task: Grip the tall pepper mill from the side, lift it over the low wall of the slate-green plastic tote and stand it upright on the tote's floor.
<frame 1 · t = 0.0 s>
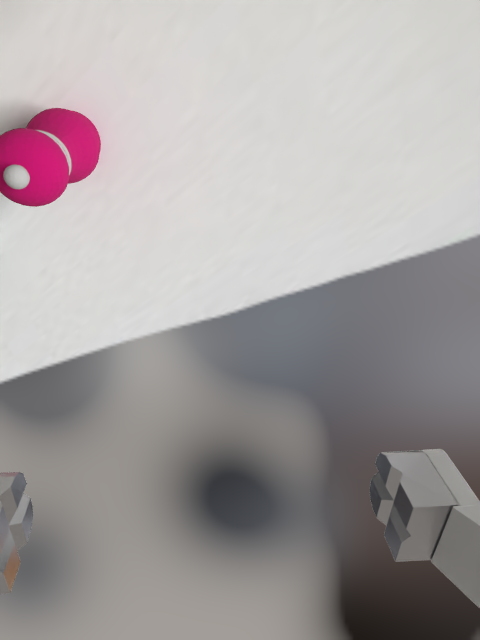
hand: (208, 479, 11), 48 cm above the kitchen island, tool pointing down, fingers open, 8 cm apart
pepper mill: (72, 140, 51), on the kitchen island
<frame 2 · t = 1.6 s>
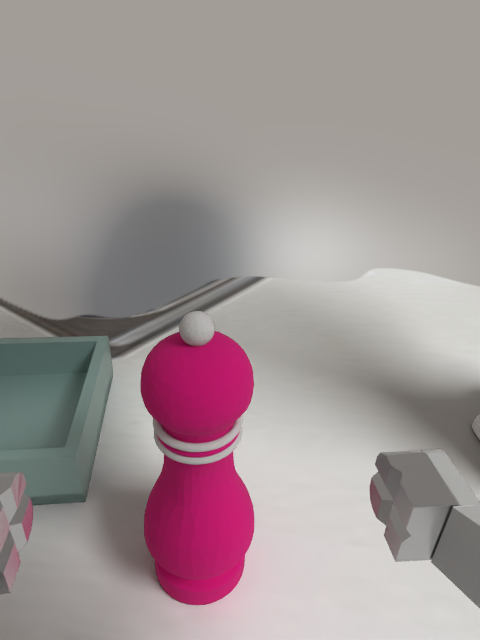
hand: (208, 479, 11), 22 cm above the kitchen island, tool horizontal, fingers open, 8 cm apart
pepper mill: (200, 562, 32), on the kitchen island
tote: (8, 431, 42), on the kitchen island
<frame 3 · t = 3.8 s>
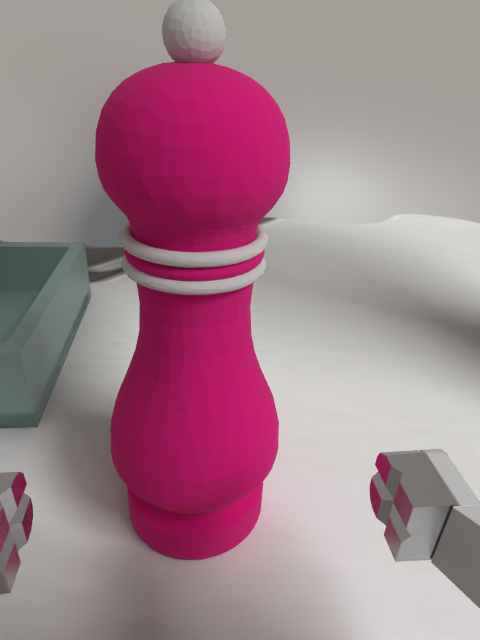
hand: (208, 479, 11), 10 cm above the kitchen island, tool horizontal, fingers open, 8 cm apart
pepper mill: (196, 503, 22), on the kitchen island
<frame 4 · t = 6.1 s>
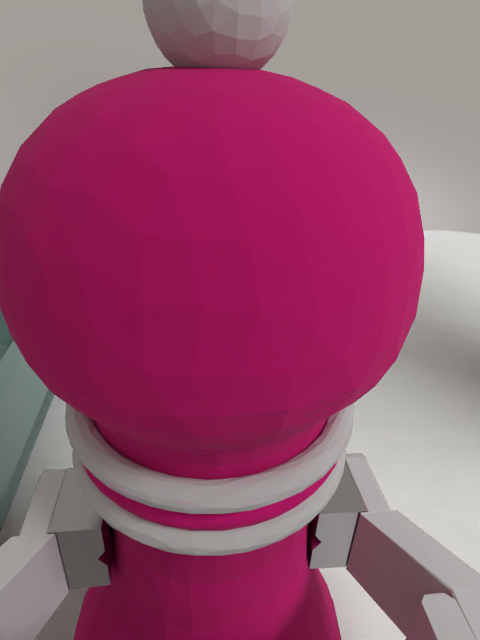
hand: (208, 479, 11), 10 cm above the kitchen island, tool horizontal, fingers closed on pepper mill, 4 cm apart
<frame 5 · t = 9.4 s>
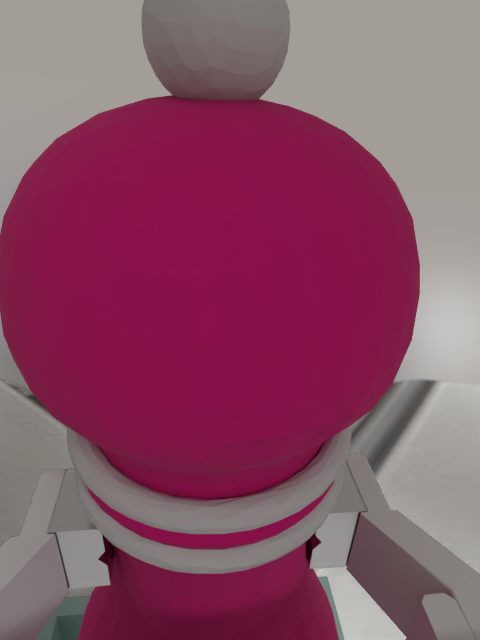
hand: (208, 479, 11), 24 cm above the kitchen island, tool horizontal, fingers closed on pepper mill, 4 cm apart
when the fingers open (11 cm above the kitchen island, at t = 13.1 s): pepper mill stays where it is, resting on tote.
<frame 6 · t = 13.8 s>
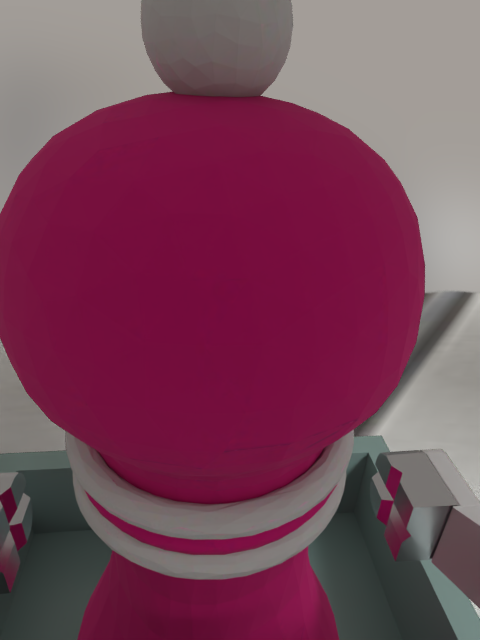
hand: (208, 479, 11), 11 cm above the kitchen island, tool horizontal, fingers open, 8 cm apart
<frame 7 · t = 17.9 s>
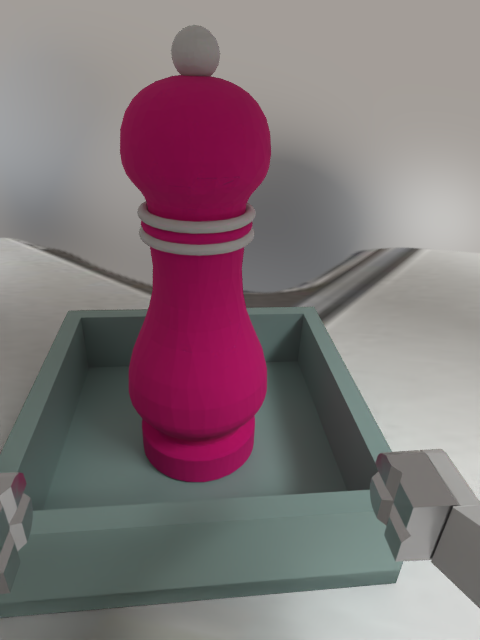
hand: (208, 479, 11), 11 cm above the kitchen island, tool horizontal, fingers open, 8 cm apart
pepper mill: (199, 443, 26), point 1 cm above the kitchen island, touching tote
tote: (198, 451, 26), on the kitchen island
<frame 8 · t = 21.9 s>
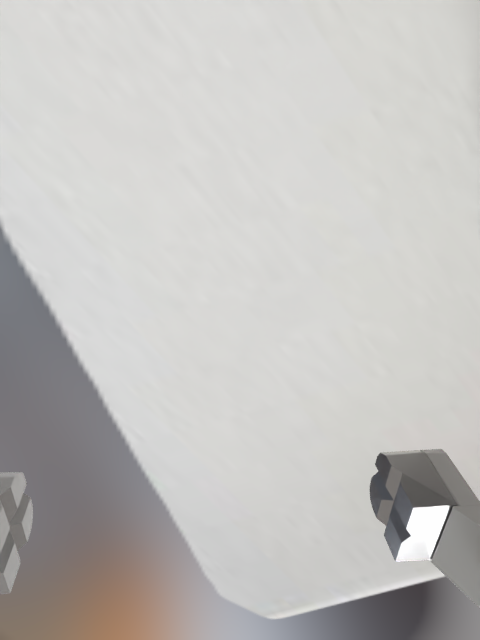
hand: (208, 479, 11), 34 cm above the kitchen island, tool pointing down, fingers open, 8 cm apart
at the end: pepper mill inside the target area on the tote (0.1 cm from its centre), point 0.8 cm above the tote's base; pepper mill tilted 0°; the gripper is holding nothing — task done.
